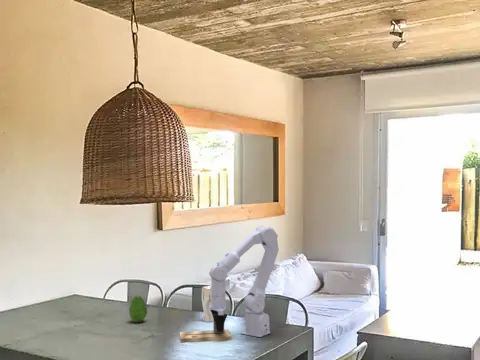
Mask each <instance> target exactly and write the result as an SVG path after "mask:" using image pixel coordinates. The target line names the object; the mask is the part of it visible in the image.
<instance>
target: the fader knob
mask: <svg viewBox="0 0 480 360" xmlns="http://www.w3.org/2000/svg"><path fill="white" fill-rule="evenodd" d="M212 328H213V330H214V333H224V330H225V327H224V328H223V332H217V328H216V322H214V321H213V327H212Z"/></svg>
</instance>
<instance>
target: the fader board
mask: <svg viewBox="0 0 480 360" xmlns="http://www.w3.org/2000/svg"><path fill="white" fill-rule="evenodd" d="M178 335H179V339H180V343H181V344H182V343H194V342H195V343H198V342H212V341H213V342H214V341H215V340H217V341H228V340H229V341H232V340H233V336H232V333H231V332H230V331H229V329H224V333H214V329H213V330H211V329H210V330H196V331H195V330H194V331H192V330H191V331H180V332H179V334H178Z"/></svg>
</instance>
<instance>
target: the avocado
mask: <svg viewBox="0 0 480 360" xmlns="http://www.w3.org/2000/svg"><path fill="white" fill-rule="evenodd" d="M147 307H148V306H147V305H146V302H145V299H144V298H143V297H142V296H140V295H139V294H137V295H134V296H133V298H132V299H131V302H130V306H129V310H128V311H129V318H130V319H131V321H132V322H134V323H141V322H142V321H144V320H145V318H146V317H147V314H148V308H147Z"/></svg>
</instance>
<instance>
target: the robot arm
mask: <svg viewBox="0 0 480 360" xmlns="http://www.w3.org/2000/svg"><path fill="white" fill-rule="evenodd" d="M278 237H279V236H278V234H277V232H276V230H275V229H274V228H272V227H271V226H269V227H268V226H263V225H259V226H258V227H256V228H255V229H254V230H253V231H252V232H251V233H250V234H249V235H248V236H247V237H246V239H244V241H242V242H241V244H240V245H239V246H238V247H237V248H236V249H235V250H234V251H229V252H225V254H224V257H222V259H221V260H220V261H217V262H216V264H215V265H213V266H212V267H210V270H209V273H208V275H209V276H210V278H211V279H210V280H211V283H210V286H211V306H209V309H212V310H210V311H211V313H212V315H213V319H214V321H213V322H216V328H217V332H223V328H224V329H225V323H226V319H227V318H228V314H227V313H224V312H225V310H227V303H226V301H227V300H226V299H227V298H226V279H227V277H228V274H229V273H230V272H231V271H232V270H233V269H234V268H235V267H236V266H237V265H238V264H239V263H240V260H241V259H240V258H241V257H242V256H243V255H244V254H245V253H247V252H248V251H249V250H250V249H251V248H252V247H253V246H255V245H259V244H261V246H262V247H263V249H264V252H263V256H262V258H261V262H260V265H259V267H258V270H257V274H256V275H255V279H254V282H253V285H252V287H250V289H249V291H248V293H247V294H246V295H245V296H244V298H243V305H244V306H245V331H242V332H241V335H246V336H252V337H257V338H262V337H264V336H267V335H268V334H269V335H270V334H271V331H270V316H269V314H268V313H265V312H264V309H265V307H266V304H265V301H266V297H267V295H266V288H267V286H268V282H269V280H270V276H271V275H272V271H273V269H274V266H275V265H274V264H275V262H276V259H277V256H278V254H279V243H278Z"/></svg>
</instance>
